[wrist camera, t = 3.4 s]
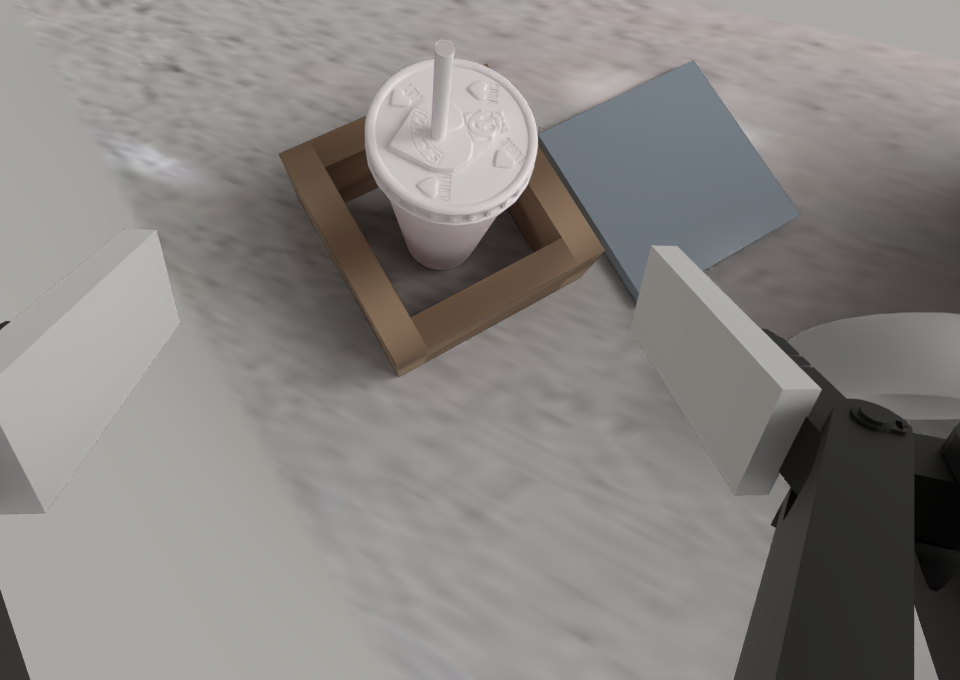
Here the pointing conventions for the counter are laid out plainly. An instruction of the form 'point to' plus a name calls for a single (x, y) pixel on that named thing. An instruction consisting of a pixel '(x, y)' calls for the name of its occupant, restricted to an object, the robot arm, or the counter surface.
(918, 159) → the counter surface
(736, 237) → the coaster
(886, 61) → the counter surface
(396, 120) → the smoothie
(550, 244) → the collar
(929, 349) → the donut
